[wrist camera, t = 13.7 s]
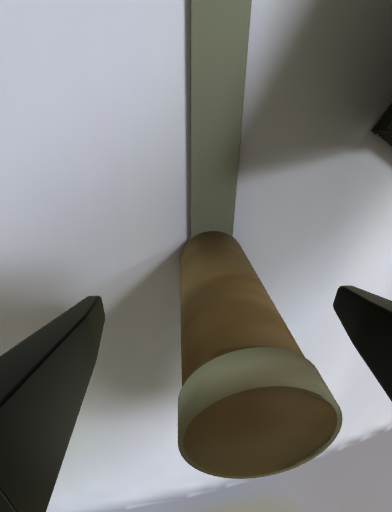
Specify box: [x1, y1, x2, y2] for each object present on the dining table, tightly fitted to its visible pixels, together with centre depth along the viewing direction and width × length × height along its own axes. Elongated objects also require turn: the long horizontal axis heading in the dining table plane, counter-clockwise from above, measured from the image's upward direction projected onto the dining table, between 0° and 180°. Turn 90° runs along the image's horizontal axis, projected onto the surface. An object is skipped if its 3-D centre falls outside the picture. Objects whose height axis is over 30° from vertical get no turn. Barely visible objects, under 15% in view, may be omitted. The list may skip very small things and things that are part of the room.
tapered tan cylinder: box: [178, 231, 342, 479], centre depth 9 cm, size 3×3×8 cm
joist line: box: [191, 0, 252, 239], centre depth 9 cm, size 2×22×1 cm, turn 179°
